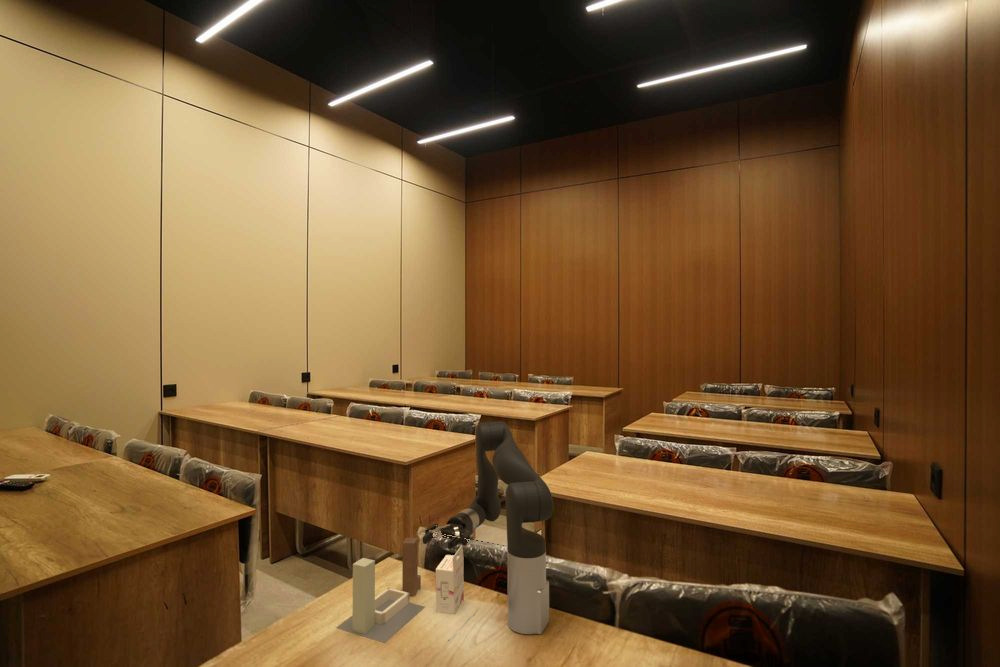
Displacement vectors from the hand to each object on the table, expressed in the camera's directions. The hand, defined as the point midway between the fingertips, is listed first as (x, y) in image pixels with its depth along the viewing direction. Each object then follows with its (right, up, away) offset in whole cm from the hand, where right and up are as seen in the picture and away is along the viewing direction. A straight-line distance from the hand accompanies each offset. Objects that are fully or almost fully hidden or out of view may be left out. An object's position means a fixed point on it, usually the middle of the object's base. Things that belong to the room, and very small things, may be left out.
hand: (436, 543), depth 139 cm
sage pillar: (-13, -7, -29) cm, 32 cm away
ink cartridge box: (+6, -9, -19) cm, 22 cm away
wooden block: (-5, -9, -12) cm, 15 cm away
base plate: (-10, -8, -24) cm, 27 cm away
